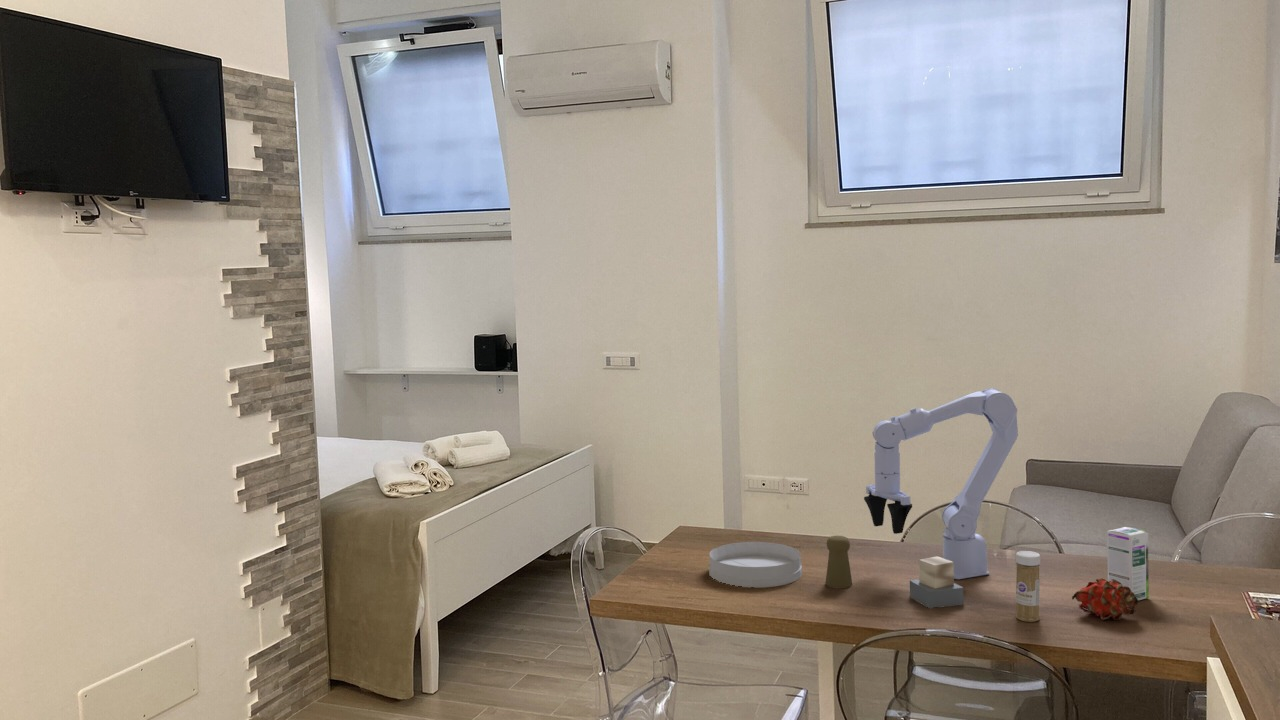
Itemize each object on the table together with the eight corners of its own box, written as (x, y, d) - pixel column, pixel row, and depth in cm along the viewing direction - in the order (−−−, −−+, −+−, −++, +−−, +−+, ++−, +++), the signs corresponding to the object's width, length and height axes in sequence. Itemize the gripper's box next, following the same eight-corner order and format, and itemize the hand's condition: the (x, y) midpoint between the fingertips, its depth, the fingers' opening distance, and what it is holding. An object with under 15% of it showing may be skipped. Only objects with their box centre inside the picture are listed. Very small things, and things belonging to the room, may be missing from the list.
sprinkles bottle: (1012, 619, 191) (1012, 554, 190) (1020, 613, 194) (1020, 548, 193) (1036, 624, 188) (1036, 557, 187) (1043, 617, 191) (1043, 552, 190)
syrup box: (1131, 603, 198) (1132, 535, 197) (1106, 595, 203) (1106, 529, 202) (1149, 598, 200) (1149, 531, 199) (1123, 591, 206) (1124, 525, 205)
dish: (821, 576, 224) (821, 555, 224) (750, 595, 212) (750, 573, 211) (758, 556, 242) (758, 536, 242) (690, 572, 230) (689, 552, 230)
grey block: (942, 594, 208) (942, 576, 208) (963, 606, 200) (963, 587, 200) (909, 598, 206) (909, 580, 206) (929, 610, 199) (929, 591, 198)
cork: (852, 588, 213) (851, 540, 212) (825, 587, 214) (824, 539, 214) (852, 580, 219) (851, 533, 218) (825, 579, 220) (824, 532, 219)
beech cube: (937, 578, 206) (937, 556, 206) (953, 584, 202) (953, 561, 202) (919, 582, 204) (919, 559, 204) (935, 588, 200) (935, 565, 200)
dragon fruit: (1143, 631, 186) (1077, 631, 192) (1141, 596, 192) (1076, 596, 198) (1136, 604, 182) (1068, 605, 188) (1134, 569, 188) (1068, 570, 194)
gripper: (855, 468, 228) (855, 524, 229) (891, 479, 214) (892, 538, 215) (879, 466, 230) (880, 521, 231) (917, 476, 217) (918, 534, 218)
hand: (888, 529), depth 223 cm, fingers open, 7 cm apart
